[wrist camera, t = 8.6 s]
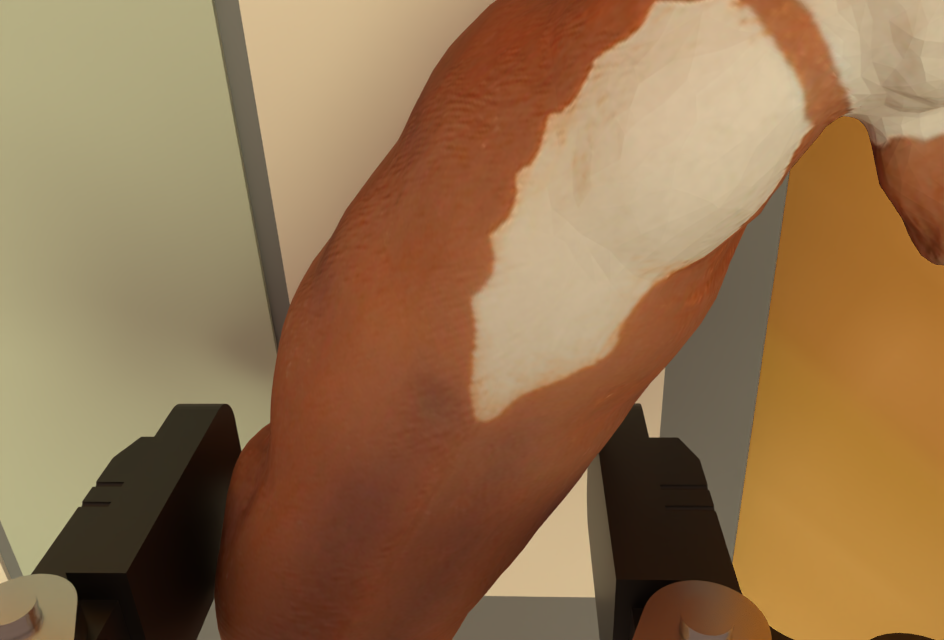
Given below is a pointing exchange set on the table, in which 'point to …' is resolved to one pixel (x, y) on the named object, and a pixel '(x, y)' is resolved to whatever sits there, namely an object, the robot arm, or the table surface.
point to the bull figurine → (539, 284)
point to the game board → (254, 252)
